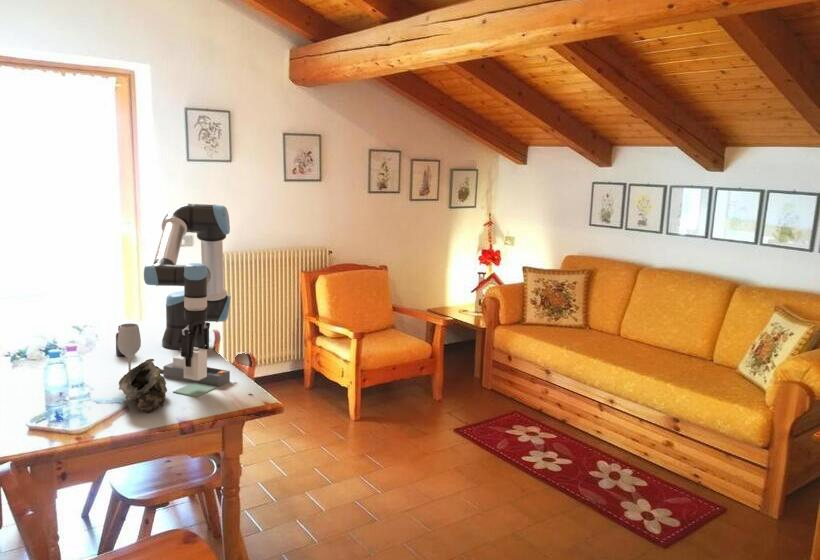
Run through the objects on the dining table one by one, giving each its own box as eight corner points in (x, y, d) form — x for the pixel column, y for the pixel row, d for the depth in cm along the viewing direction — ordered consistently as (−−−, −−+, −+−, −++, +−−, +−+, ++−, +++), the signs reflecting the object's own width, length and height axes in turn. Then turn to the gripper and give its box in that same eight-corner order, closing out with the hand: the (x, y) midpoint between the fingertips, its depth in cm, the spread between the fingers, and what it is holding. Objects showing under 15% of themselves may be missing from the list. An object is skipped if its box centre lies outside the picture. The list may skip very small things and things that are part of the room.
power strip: (148, 373, 241) (148, 362, 240) (160, 368, 247) (160, 357, 247) (218, 387, 231) (218, 375, 231) (229, 381, 238) (229, 369, 237)
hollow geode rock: (150, 433, 201) (186, 397, 203) (118, 409, 195) (154, 373, 197) (147, 399, 226) (178, 368, 228) (118, 377, 220) (150, 345, 222)
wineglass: (136, 377, 236) (135, 321, 233) (144, 383, 231) (144, 326, 227) (115, 381, 231) (114, 324, 227) (123, 387, 225) (122, 329, 222)
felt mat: (193, 383, 233) (193, 382, 233) (216, 387, 230) (216, 386, 230) (173, 392, 223) (173, 391, 223) (197, 397, 220) (197, 396, 220)
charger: (192, 374, 229) (192, 346, 227) (206, 376, 227) (207, 348, 226) (183, 377, 224) (183, 349, 223) (197, 380, 223) (198, 352, 221)
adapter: (181, 366, 243) (181, 354, 242) (192, 368, 241) (192, 356, 240) (173, 370, 238) (173, 357, 237) (184, 372, 237) (184, 359, 236)
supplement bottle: (112, 355, 259) (111, 327, 257) (122, 351, 266) (122, 323, 264) (127, 357, 258) (127, 328, 256) (137, 353, 265) (137, 324, 263)
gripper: (202, 302, 231) (202, 364, 235) (168, 311, 214) (169, 378, 218) (220, 305, 229) (219, 367, 233) (187, 314, 212) (187, 381, 216)
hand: (195, 372), depth 226 cm, fingers closed on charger, 5 cm apart
